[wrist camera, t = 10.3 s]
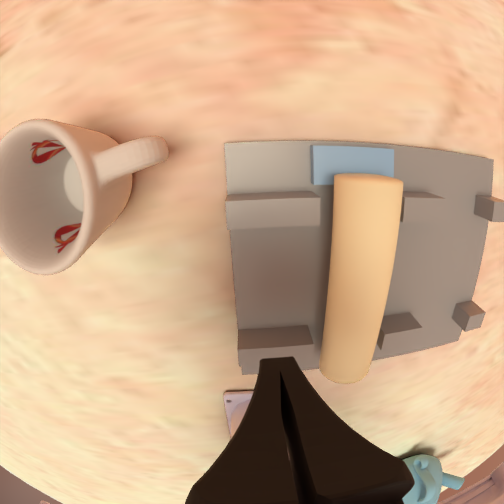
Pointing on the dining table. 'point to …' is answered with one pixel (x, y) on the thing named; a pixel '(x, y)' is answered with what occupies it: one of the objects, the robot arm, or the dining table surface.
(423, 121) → the dining table surface
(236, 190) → the board
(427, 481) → the teapot
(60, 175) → the cup
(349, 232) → the tan tapered cylinder
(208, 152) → the dining table surface
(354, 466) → the robot arm
